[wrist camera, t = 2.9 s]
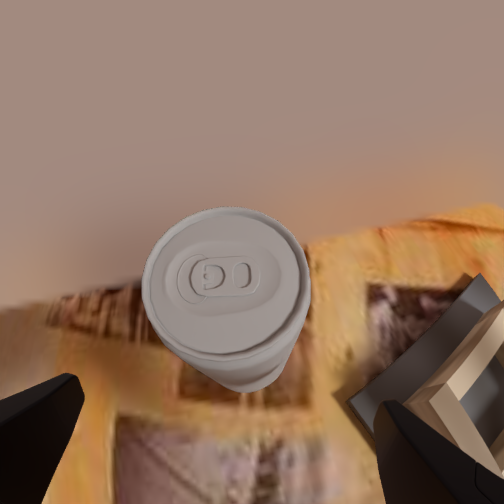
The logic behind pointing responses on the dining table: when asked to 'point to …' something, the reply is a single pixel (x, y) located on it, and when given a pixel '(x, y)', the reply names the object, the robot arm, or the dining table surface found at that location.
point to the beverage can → (228, 294)
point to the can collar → (452, 377)
